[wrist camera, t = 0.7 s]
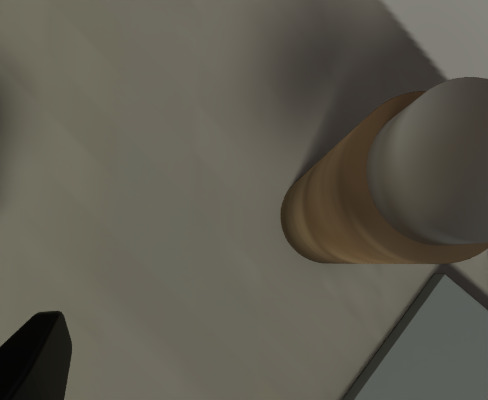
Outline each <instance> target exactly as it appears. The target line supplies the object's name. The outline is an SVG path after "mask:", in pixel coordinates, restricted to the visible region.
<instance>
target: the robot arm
mask: <svg viewBox="0 0 488 400" xmlns="http://www.w3.org/2000/svg"><path fill="white" fill-rule="evenodd" d="M71 354H72V342H71V338H70V335H69V331H68V328H67V324H66V321H65V318H64V315H63V314H62V312H60V311H48V312H39V313H37V314H35V315H34V316H32V317H31V318H30V319H29V320H28V321H27V322H26V323H25V324H24V325H23V326H22V327H21V328H20V329H19V330H18V331H16V332H15V333H14V334H13V335H12V336H11V337H10V338H9V339H8V340H7V341H6V342H5V343H4V344H3V345H2V346H1V347H0V400H64V397H65V391H66V385H67V379H68V373H69V367H70V361H71Z"/></svg>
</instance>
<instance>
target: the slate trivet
mask: <svg viewBox="0 0 488 400" xmlns="http://www.w3.org/2000/svg"><path fill="white" fill-rule="evenodd" d="M343 400H488V310H487V309H485V308H484V307H483V306H482V305H481V304H479V303H478V302H477V301H476V300H475V299H474V298H472V297H471V296H470V295H469V294H468V293H466V292H465V291H464V290H463V289H462V288H461V287H459V286H458V285H457V284H456V283H455V282H453V281H452V280H451V279H450V278H449V277H447V276H446V275H445V274H434V275H433V277H432V278H431V279H430V281H429V282H428V283H427V285H426V286H425V288H424V289H423V290H422V292H421V293H420V294H419V296H418V297H417V299H416V300H415V301H414V303H413V304H412V305H411V307H410V308H409V310H408V311H407V312H406V314H405V315H404V316H403V318H402V319H401V320H400V322H399V323H398V325H397V326H396V327H395V329H394V330H393V331H392V333H391V334H390V336H389V337H388V338H387V340H386V341H385V342H384V344H383V345H382V347H381V348H380V349H379V351H378V352H377V353H376V355H375V356H374V357H373V359H372V360H371V362H370V363H369V364H368V366H367V367H366V368H365V370H364V371H363V373H362V374H361V375H360V377H359V378H358V379H357V381H356V382H355V384H354V385H353V386H352V388H351V389H350V390H349V392H348V393H347V395H346V396H345V397H344V399H343Z"/></svg>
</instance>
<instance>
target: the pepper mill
mask: <svg viewBox="0 0 488 400" xmlns="http://www.w3.org/2000/svg"><path fill="white" fill-rule="evenodd" d="M281 225H282V229H283V232H284V235H285V237H286V239H287V240H288V242H289V244H290V245H291V246H292V247H293V248H294V249H295V250H296V251H297V252H298V253H299V254H300V255H302V256H303V257H305V258H307V259H309V260H312V261H315V262H318V263H346V264H449V263H455V262H460V261H464V260H467V259H470V258H472V257H474V256H476V255H478V254H480V253H482V252H483V251H485V250H486V249H488V79H483V78H476V77H464V78H457V79H452V80H448V81H445V82H443V83H440V84H438V85H436V86H434V87H433V88H431V89H429V90H428V91H418V92H410V93H407V94H403V95H400V96H397V97H395V98H392V99H390V100H389V101H387V102H385V103H383V104H382V105H381V106H379V107H378V108H377V109H375V110H374V111H373V112H372V113H371V114H370V115H369V116H368V117H366V118H365V119H364V120H363V121H362V122H361V123H360V124H359V125H358V126H357V127H356V128H354V129H353V130H352V131H351V132H350V133H349V134H348V135H347V136H346V137H345V138H344V139H342V140H341V141H340V142H339V143H338V144H337V145H336V146H335V147H334V148H333V149H331V150H330V151H329V152H328V153H327V154H326V155H325V156H324V157H323V158H322V159H321V160H319V161H318V162H317V163H316V164H315V165H314V166H313V167H312V168H311V169H310V170H309V171H307V172H306V173H305V174H304V175H303V176H302V177H301V178H300V179H299V180H298V181H296V182H295V183H294V184H293V185H292V186H291V188H290V189H289V190H288V192H287V194H286V195H285V197H284V200H283V203H282V207H281Z"/></svg>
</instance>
